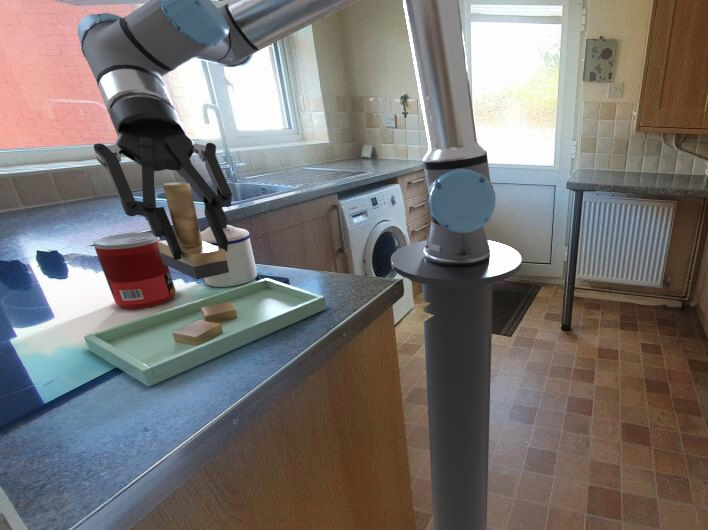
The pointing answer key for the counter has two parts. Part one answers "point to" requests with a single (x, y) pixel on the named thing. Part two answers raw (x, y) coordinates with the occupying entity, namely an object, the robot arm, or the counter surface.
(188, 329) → the cork piece
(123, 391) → the counter surface
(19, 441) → the counter surface
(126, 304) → the canned food
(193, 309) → the tray
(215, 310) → the cork piece
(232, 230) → the teacup with lid
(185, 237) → the brush
